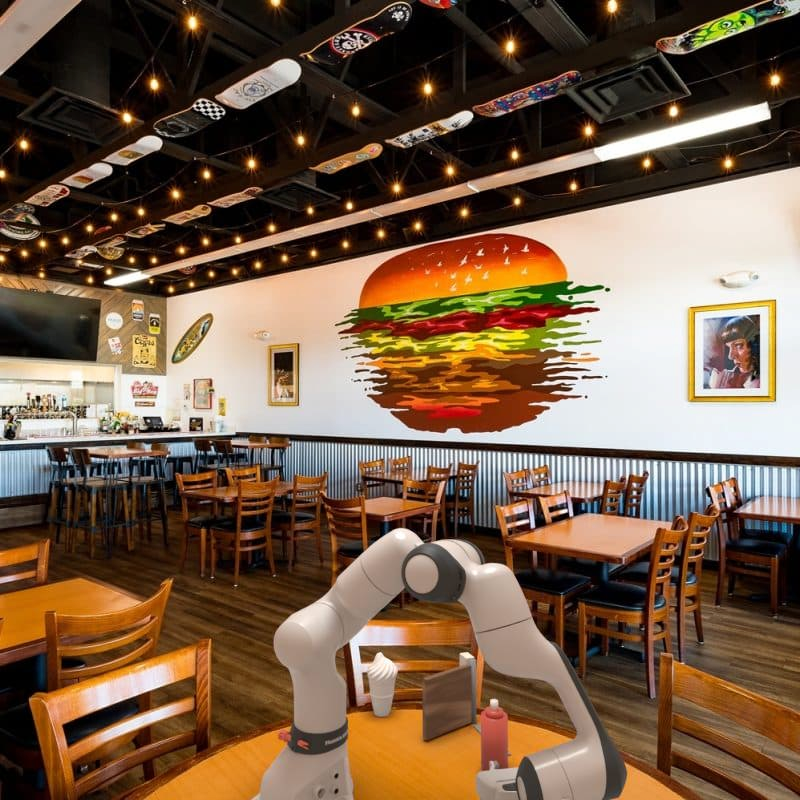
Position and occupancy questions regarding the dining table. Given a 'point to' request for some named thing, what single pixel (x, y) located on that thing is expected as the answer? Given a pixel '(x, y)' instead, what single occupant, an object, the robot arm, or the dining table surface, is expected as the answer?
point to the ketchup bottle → (494, 736)
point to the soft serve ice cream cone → (382, 684)
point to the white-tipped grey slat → (472, 686)
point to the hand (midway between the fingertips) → (514, 762)
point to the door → (446, 701)
